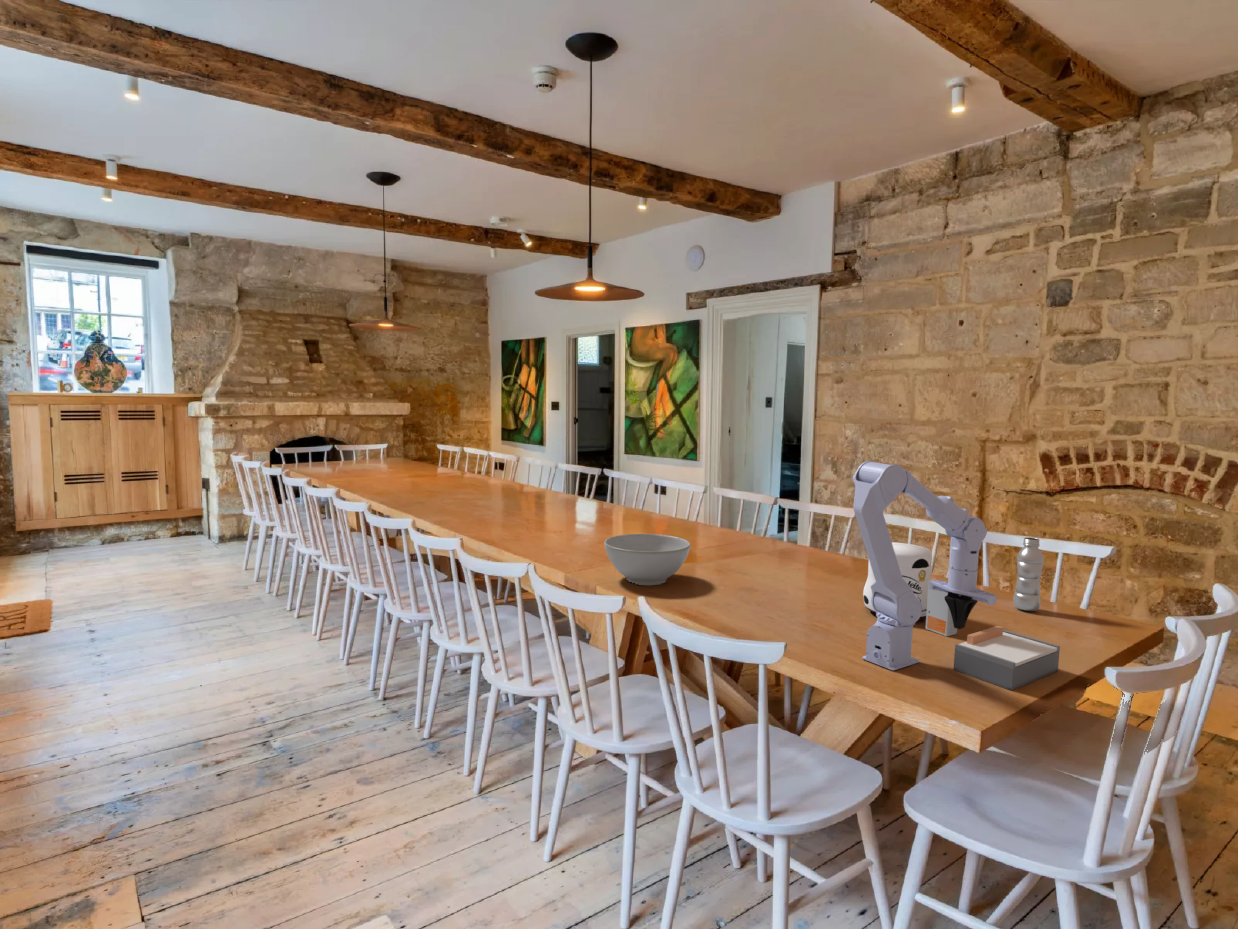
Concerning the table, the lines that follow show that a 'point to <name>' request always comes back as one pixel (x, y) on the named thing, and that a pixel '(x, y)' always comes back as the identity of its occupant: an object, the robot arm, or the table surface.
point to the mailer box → (1004, 666)
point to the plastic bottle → (1028, 576)
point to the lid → (1007, 645)
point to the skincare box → (939, 614)
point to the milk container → (907, 573)
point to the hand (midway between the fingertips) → (959, 627)
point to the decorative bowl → (647, 556)
